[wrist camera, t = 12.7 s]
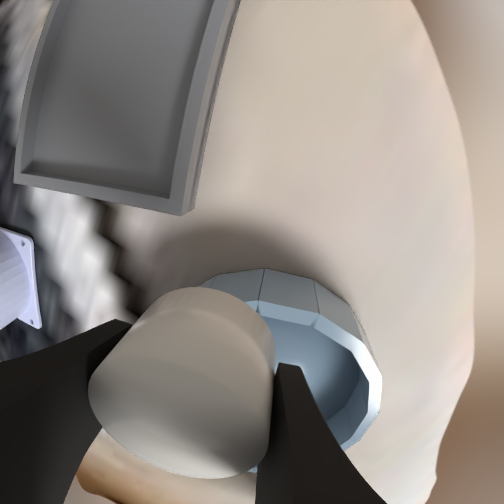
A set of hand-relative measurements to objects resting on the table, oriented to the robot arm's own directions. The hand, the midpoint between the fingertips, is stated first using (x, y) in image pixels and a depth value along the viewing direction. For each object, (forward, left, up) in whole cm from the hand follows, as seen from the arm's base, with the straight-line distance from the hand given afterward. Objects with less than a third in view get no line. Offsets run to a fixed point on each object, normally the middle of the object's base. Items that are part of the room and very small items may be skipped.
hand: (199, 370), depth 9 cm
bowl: (+3, -7, -9) cm, 11 cm away
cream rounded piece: (0, 0, -1) cm, 1 cm away
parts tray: (-9, +10, -9) cm, 17 cm away
